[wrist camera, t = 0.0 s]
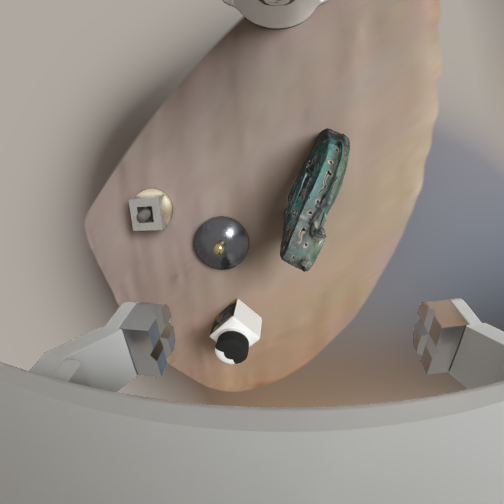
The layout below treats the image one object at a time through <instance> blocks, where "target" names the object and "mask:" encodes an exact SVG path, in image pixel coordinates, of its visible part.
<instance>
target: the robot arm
mask: <svg viewBox="0 0 504 504" xmlns="http://www.w3.org/2000/svg"><path fill="white" fill-rule="evenodd" d="M326 1H328V0H223V2H224V3H226V4H228V5H230V6H233V7H235V8H236V9H238V10H239V11H240V12H241V13H242V15H243V16H245V17H246V18H247V19H248V20H250V21H251V22H253V23H255V24H257V25H260V26H263V27H267V28H287V27H292V26H295V25H297V24H300V23H301V22H303V21H305V20H306V19H307V18H308V17H309V16H310V15H311V14H312V13H313V12H314V10H315V9H316V8H317V7H318V6H319V5H321V4H323V3H325V2H326ZM418 315H419V317H420V320H419V321H418V322H417V323H416V324H415V326H414V331H413V344H414V348H415V350H416V352H417V353H419V354H420V355H422V358H421V363H422V365H423V367H424V370H425V372H426V374H436V373H444V372H449V374H451V375H452V376H453V377H454V378H456V379H457V380H458V381H459V382H460V383H462V384H463V385H464V386H465V387H467V388H468V389H466V390H461V391H456V392H451V393H446V394H440V395H434V396H429V397H422V398H415V399H408V400H400V401H392V402H384V403H373V404H362V405H349V406H332V407H303V408H271V407H240V406H222V405H209V404H198V403H187V402H179V401H170V400H162V399H155V398H148V397H141V396H135V395H129V394H124V393H118V392H117V391H118V390H120V389H121V388H122V387H123V386H125V385H126V384H127V383H129V382H130V381H131V380H133V379H134V378H135V377H137V375H145V376H155V377H161V376H162V374H163V372H164V370H165V368H166V365H167V360H166V358H167V357H168V356H170V355H171V354H172V352H173V350H174V344H175V332H174V327H173V326H172V325H171V324H170V323H169V322H168V321H169V319H170V317H171V313H170V309H169V307H168V305H167V304H154V303H138V302H124V303H123V304H122V305H121V306H120V308H119V309H118V310H117V311H116V313H115V314H114V315H113V316H112V318H111V319H110V320H109V321H108V323H107V324H106V325H105V327H99V328H97V329H94V330H92V331H90V332H88V333H86V334H84V335H82V336H80V337H77V338H75V339H73V340H71V341H69V342H67V343H65V344H62V345H60V346H58V347H56V348H54V349H52V350H50V351H47V352H45V353H44V354H43V355H42V357H41V358H40V359H39V360H38V361H37V363H36V364H35V365H34V366H33V367H32V369H31V370H30V371H26V370H23V369H20V368H17V367H14V366H11V365H8V364H5V363H2V362H0V504H504V332H503V331H501V330H499V329H497V328H495V327H493V326H491V325H488V324H486V323H481V321H480V320H479V319H478V318H477V316H476V315H475V314H474V313H473V311H472V310H471V309H470V308H469V307H468V305H467V304H466V303H465V302H464V301H463V300H462V299H459V298H458V299H450V300H441V301H432V302H422V303H421V305H420V306H419V310H418Z"/></svg>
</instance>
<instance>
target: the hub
mask: <svg viewBox="0 0 504 504" xmlns="http://www.w3.org/2000/svg"><path fill="white" fill-rule="evenodd" d="M248 247H249V238H248V235H247V232H246V230H245V229H244V227H243V226H242V225H241V224H240V223H239V222H237V221H236V220H234V219H232V218H229V217H224V216H219V217H213V218H211V219H209V220H207V221H206V222H204V223H203V224H202V226H201V227H200V228H199V230H198V231H197V233H196V236H195V249H196V252H197V254H198V256H199V257H200V258H201V260H202V261H203V262H204V263H206V264H207V265H209V266H211V267H213V268H216V269H230V268H233V267H235V266H237V265H239V264H240V263H241V262H242V261H243V260H244V258H245V256H246V254H247V251H248Z"/></svg>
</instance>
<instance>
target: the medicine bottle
mask: <svg viewBox="0 0 504 504" xmlns="http://www.w3.org/2000/svg"><path fill="white" fill-rule="evenodd" d="M261 324H262V318H261V317H260V316H258V315H257V314H256V313H255V312H254V311H252V310H251V309H250V308H249V307H248V306H246V305H245V304H244V303H243V302H242V301H240V300H239V299H236V300H235V301H233V302H232V303H231V304H230V305H229V306H228V307H227V308H226V309H224V310H223V311H222V312H221V313H220V314H219V315H218V316H217V317H216V318H215V321H214V324H213V327H212V330H211V333H210V338H212V339H213V340H214V341H216V342H217V343H216V346H215V353H216V355H217V357H218V358H219V359H220V360H222V361H223V362H225V363H229V364H237V363H241V362H243V361H244V360H245V359H246V358H247V355H248V349H249V347H250V346H251V345H253V344H254V343H255V342H256V341H258V340H259V339H260V333H261Z"/></svg>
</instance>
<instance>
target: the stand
mask: <svg viewBox="0 0 504 504" xmlns="http://www.w3.org/2000/svg"><path fill="white" fill-rule="evenodd" d="M154 194H164V197H165V205H166V214H167V221H168V223H169V221H170V220H171V217H172V214H173V207H172V203H171V201H170V199H169V197H168V196H167V195H166V194H165V193H164V192H162V191H161V190H158V189H154V188H151V189H146V190H144V191H142V192H141V193H139V194H138V195H137V196H140V195H154ZM136 218H137V221H138V222H140V223H143V222H145V221H146V220H147V219H148V218H153V212H152V206H148V207H144V210H143V211H141V212H140V213H139V214H137V216H136Z"/></svg>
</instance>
